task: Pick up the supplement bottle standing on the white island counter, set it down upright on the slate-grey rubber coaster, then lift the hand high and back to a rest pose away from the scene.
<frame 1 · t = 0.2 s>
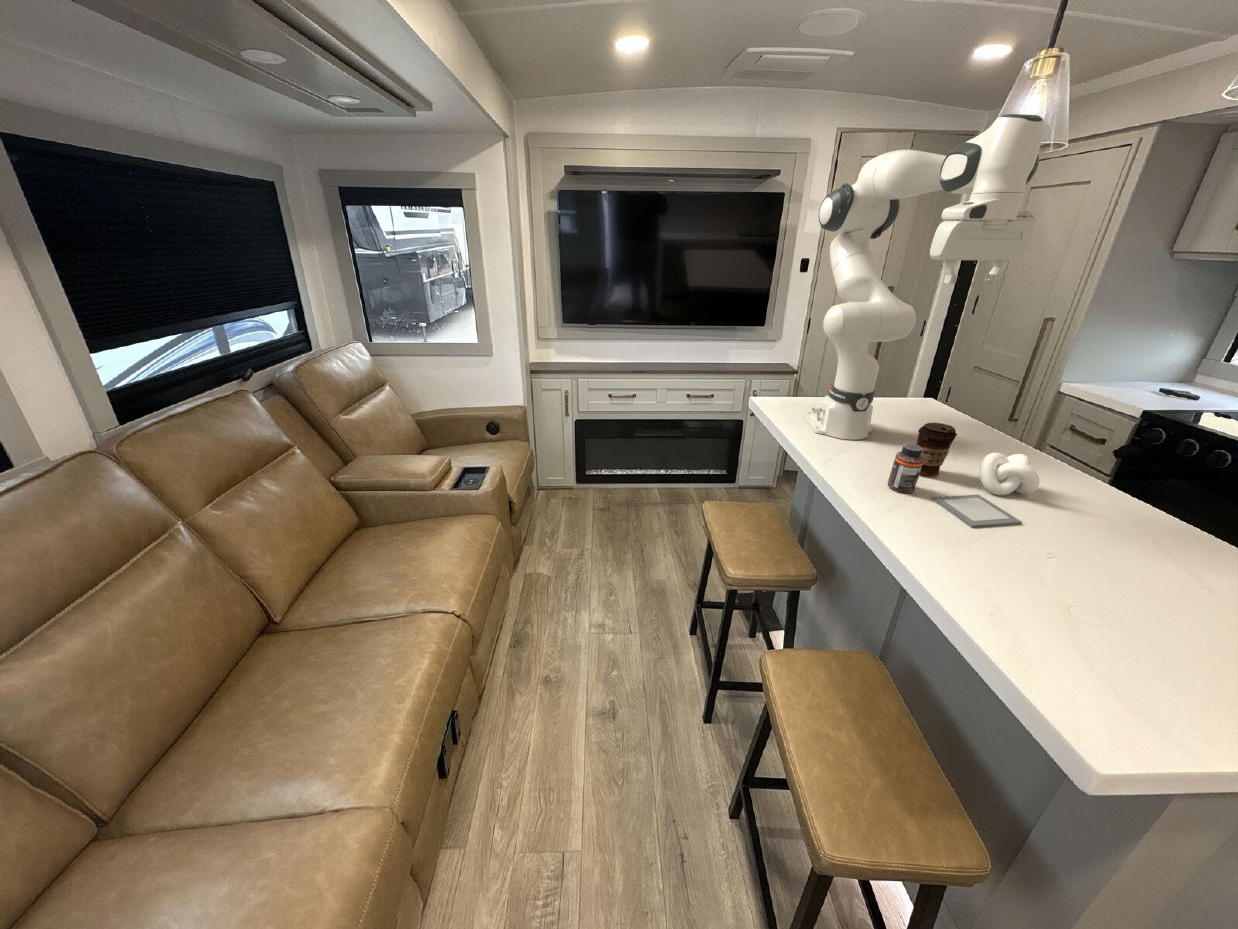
hand: (969, 283, 104), 47 cm above the countertop, fingers open, 8 cm apart
coaster: (974, 511, 110), on the countertop
coffee cup: (924, 473, 127), on the countertop
white decorative knot: (999, 489, 120), on the countertop
supplement bottle: (899, 489, 120), on the countertop
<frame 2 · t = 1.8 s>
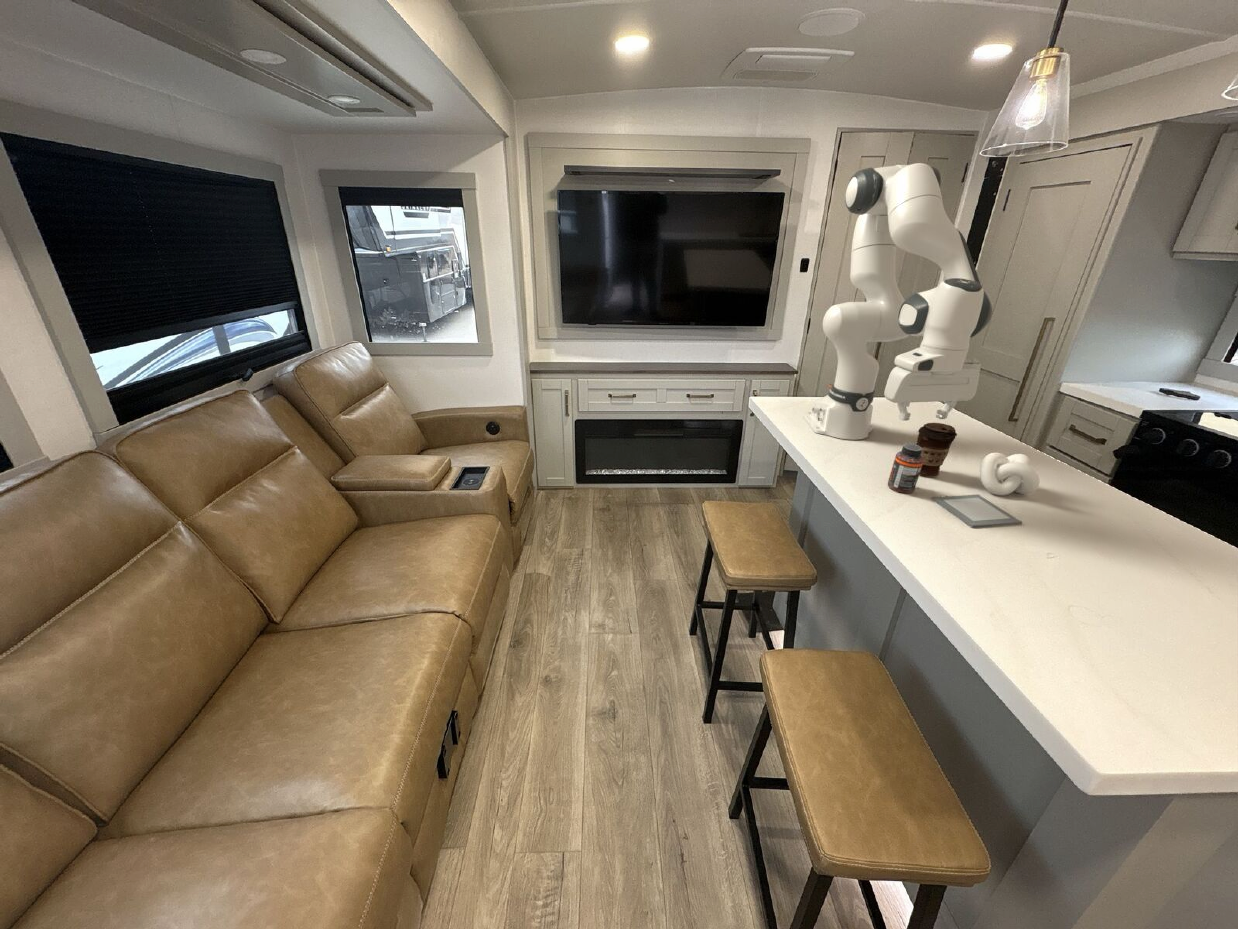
hand: (922, 419, 111), 18 cm above the countertop, fingers open, 8 cm apart
nothing on the countertop moved.
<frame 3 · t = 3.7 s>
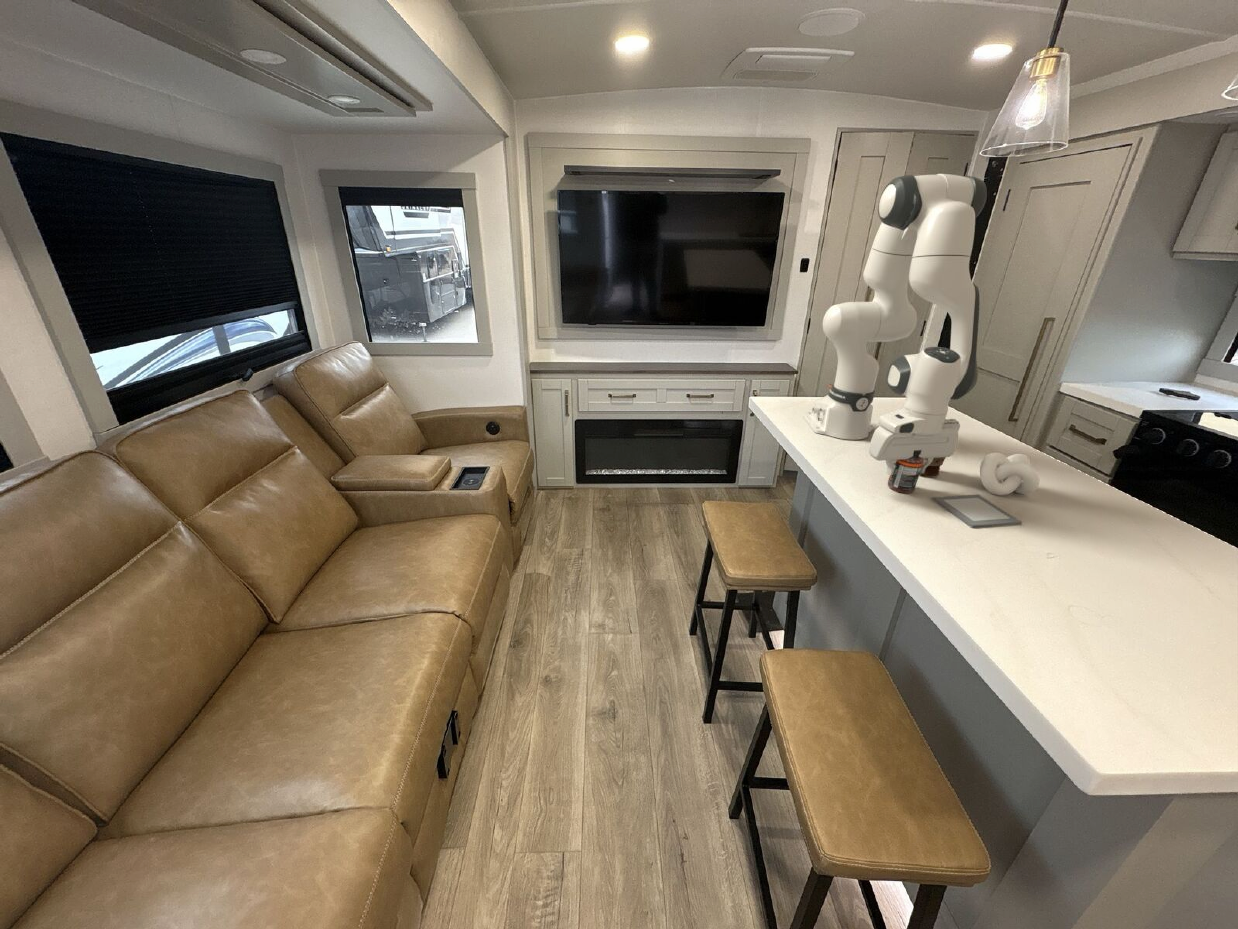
hand: (904, 473, 118), 4 cm above the countertop, fingers closed on supplement bottle, 6 cm apart
supplement bottle: (900, 488, 120), on the countertop, touching gripper
everything else where it was.
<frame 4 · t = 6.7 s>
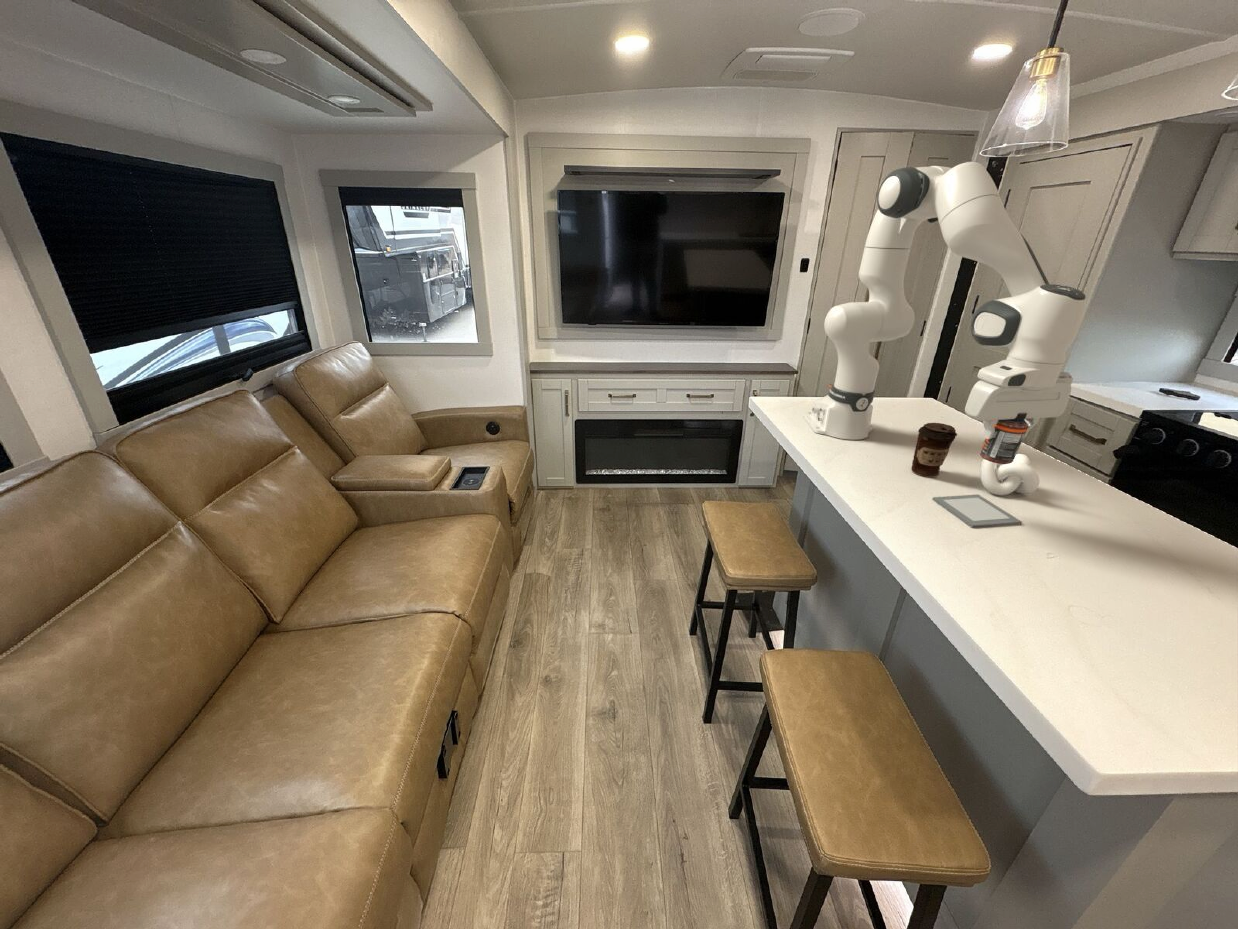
hand: (1003, 437, 102), 18 cm above the countertop, fingers closed on supplement bottle, 6 cm apart
supplement bottle: (994, 460, 104), point 13 cm above the countertop, touching gripper
everything else where it was.
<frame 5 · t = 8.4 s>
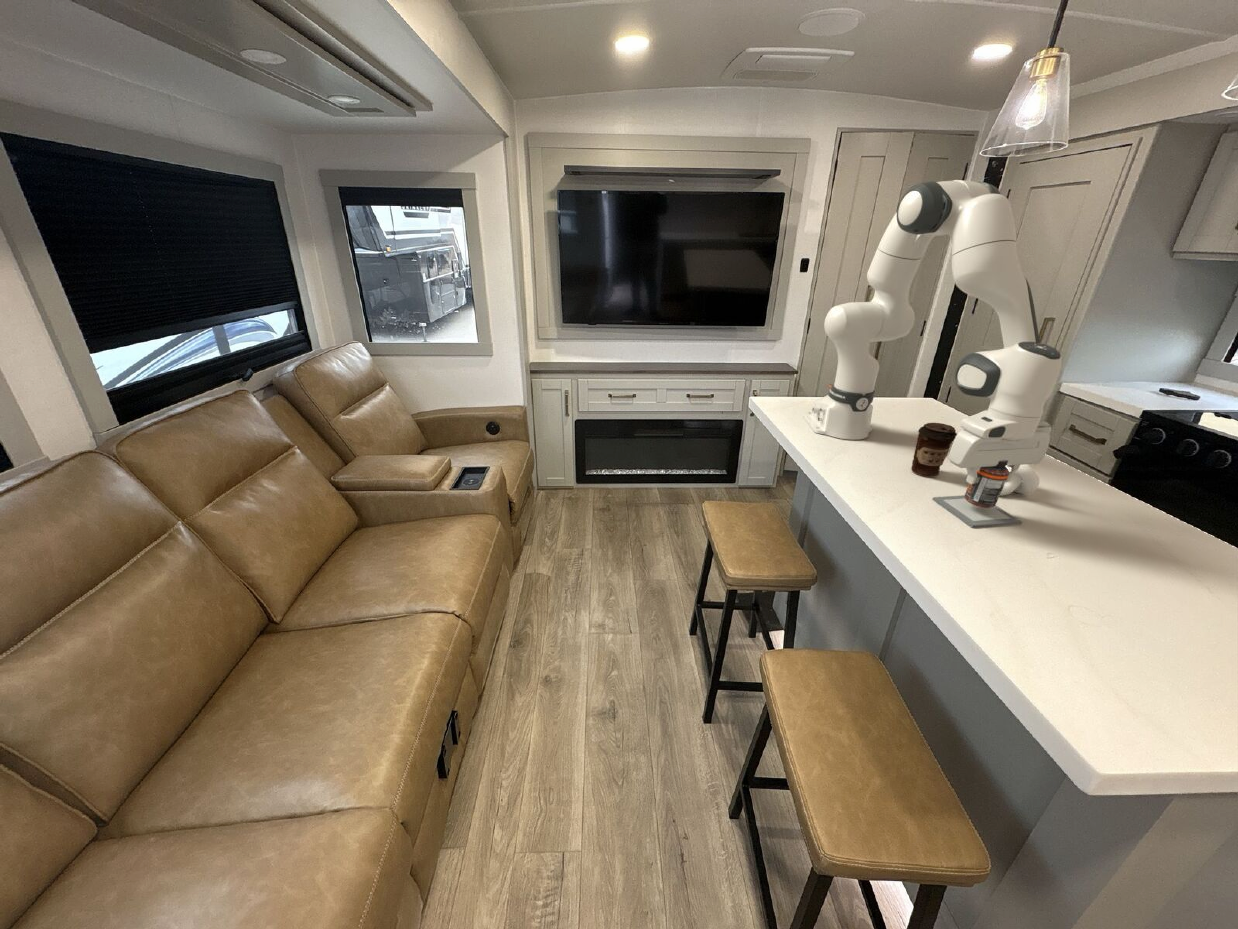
hand: (986, 481, 107), 8 cm above the countertop, fingers closed on supplement bottle, 6 cm apart
supplement bottle: (978, 502, 109), point 2 cm above the countertop, touching gripper
everything else where it was.
when the fingers open (6 cm above the countertop, at t = 9.7 s): supplement bottle stays where it is, resting on coaster.
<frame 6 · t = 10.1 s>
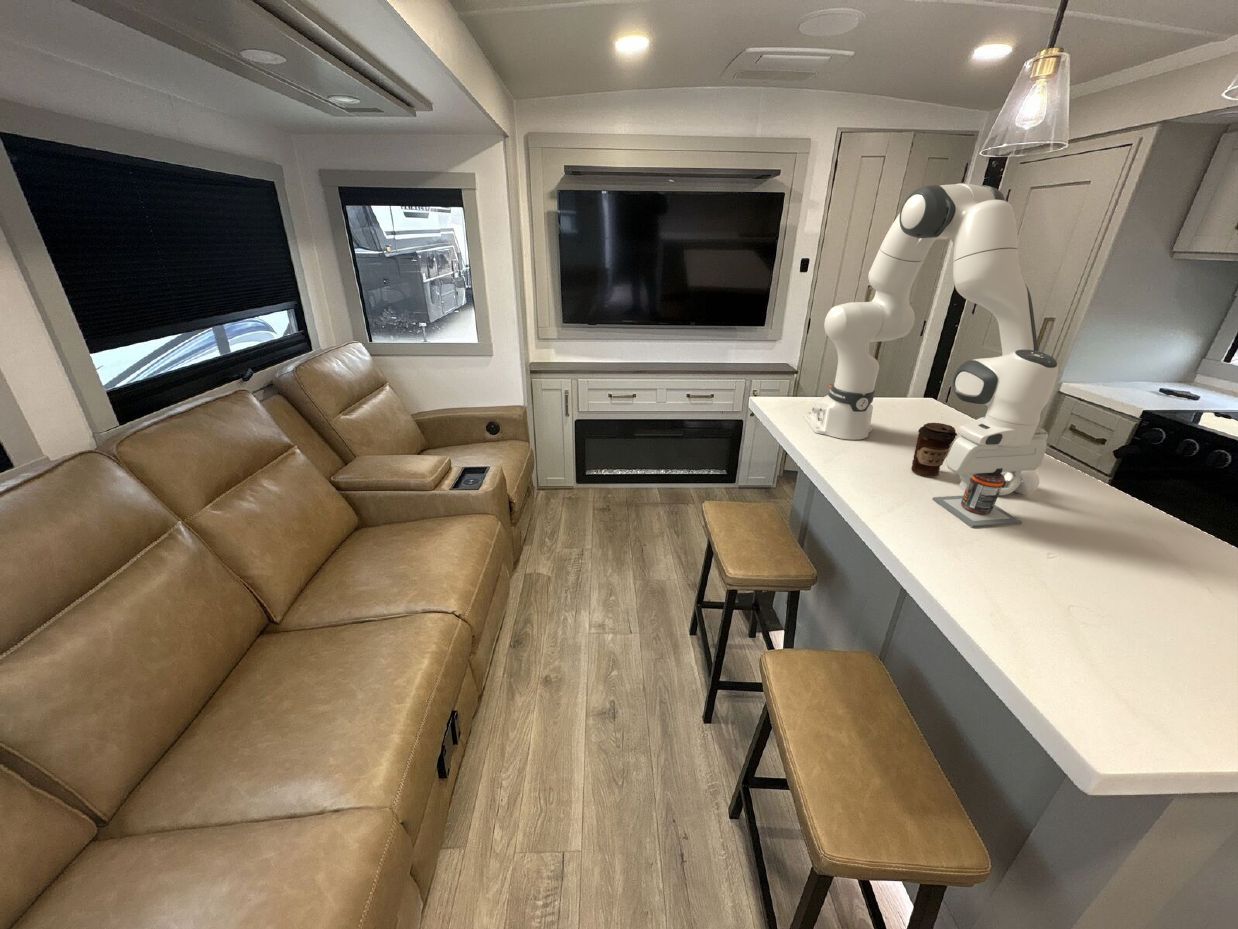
hand: (983, 487, 108), 6 cm above the countertop, fingers open, 8 cm apart
supplement bottle: (974, 509, 110), resting on coaster
everything else where it was.
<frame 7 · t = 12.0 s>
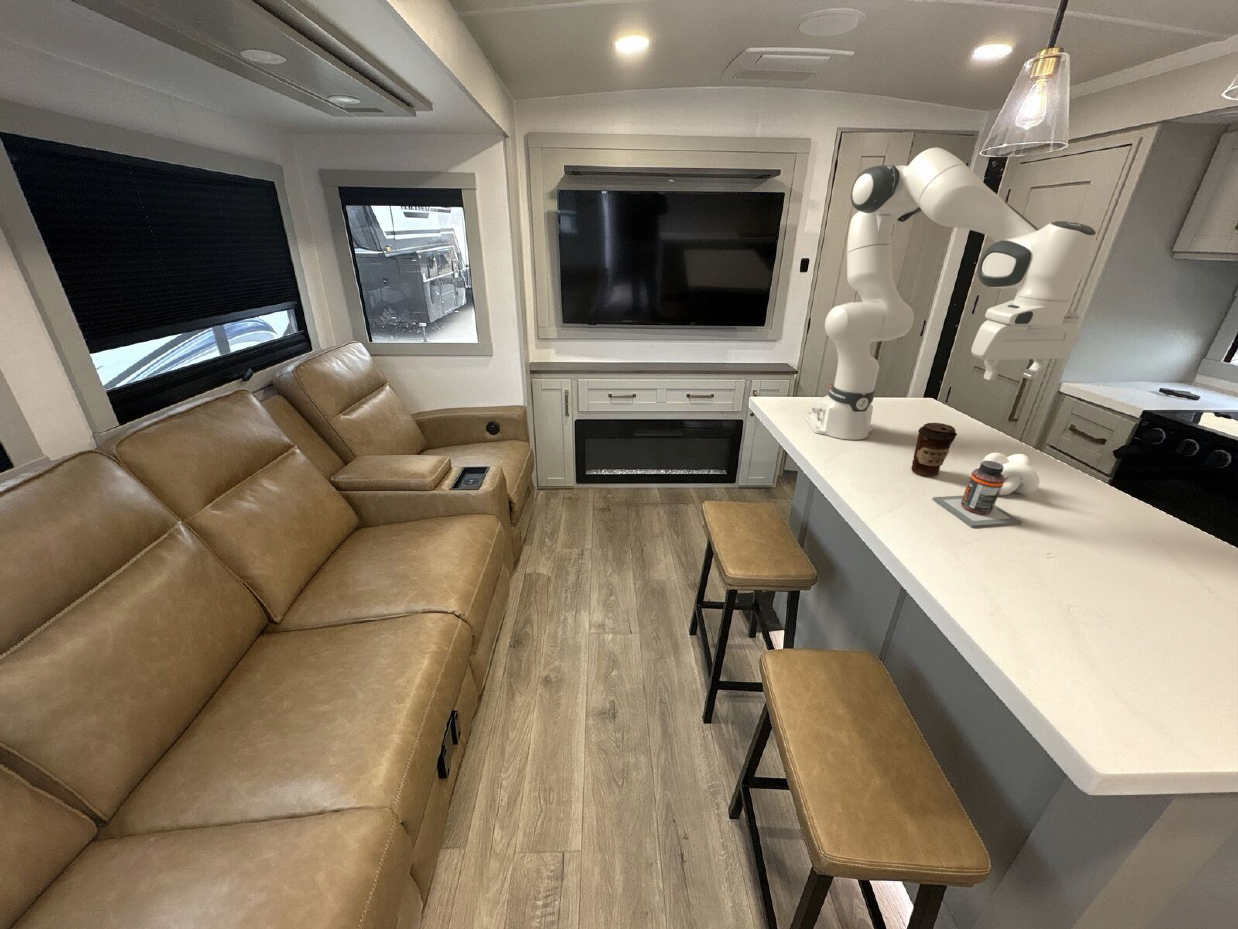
hand: (1008, 378, 104), 29 cm above the countertop, fingers open, 8 cm apart
nothing on the countertop moved.
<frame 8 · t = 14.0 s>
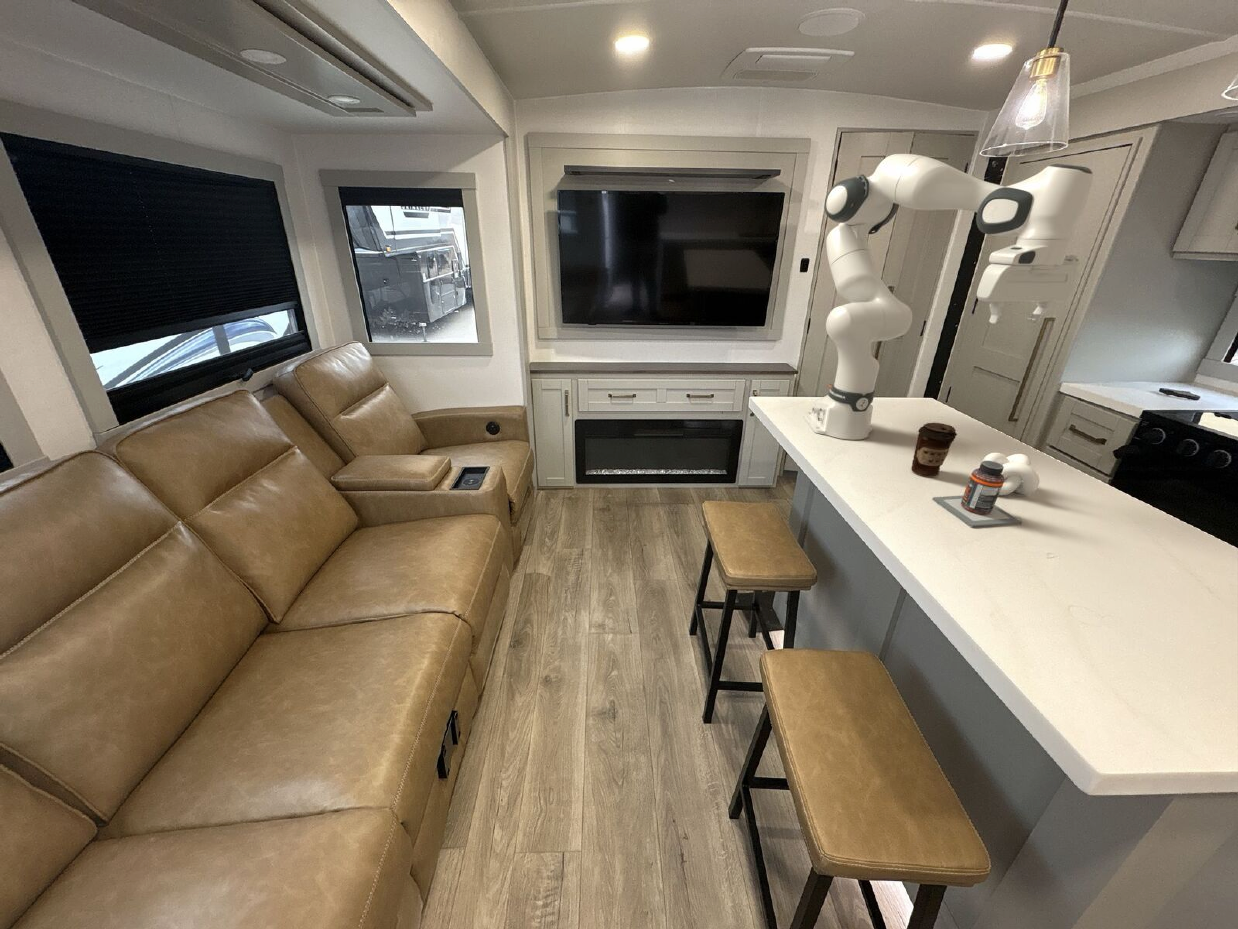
hand: (1013, 322, 107), 39 cm above the countertop, fingers open, 8 cm apart
nothing on the countertop moved.
at the end: supplement bottle inside the target area on the coaster (0.1 cm from its centre), point 0.5 cm above the coaster's base; supplement bottle tilted 0°; the gripper is holding nothing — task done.
